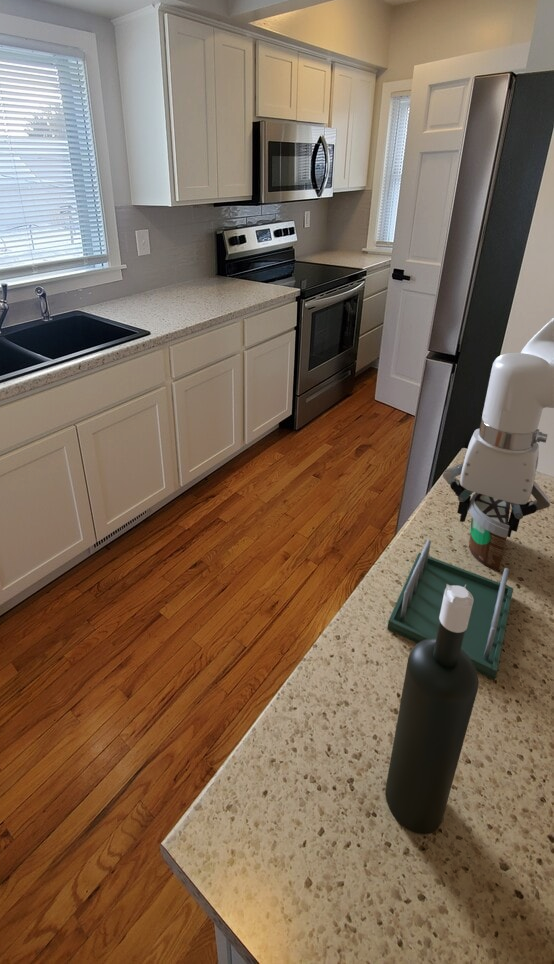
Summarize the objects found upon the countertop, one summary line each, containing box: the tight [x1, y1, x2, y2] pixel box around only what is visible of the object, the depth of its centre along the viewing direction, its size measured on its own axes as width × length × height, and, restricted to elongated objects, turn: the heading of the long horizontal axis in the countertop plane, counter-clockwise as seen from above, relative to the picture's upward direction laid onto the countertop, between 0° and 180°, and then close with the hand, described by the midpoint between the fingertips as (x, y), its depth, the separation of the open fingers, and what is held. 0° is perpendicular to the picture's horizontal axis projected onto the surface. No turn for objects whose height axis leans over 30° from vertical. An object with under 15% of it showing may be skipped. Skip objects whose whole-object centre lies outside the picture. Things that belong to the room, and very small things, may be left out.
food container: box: [468, 492, 511, 572], centre depth 82 cm, size 12×6×10 cm, turn 149°
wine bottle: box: [384, 584, 479, 835], centre depth 45 cm, size 6×6×30 cm
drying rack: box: [386, 539, 514, 681], centre depth 71 cm, size 14×16×7 cm
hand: (485, 523), depth 82 cm, fingers closed on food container, 6 cm apart
